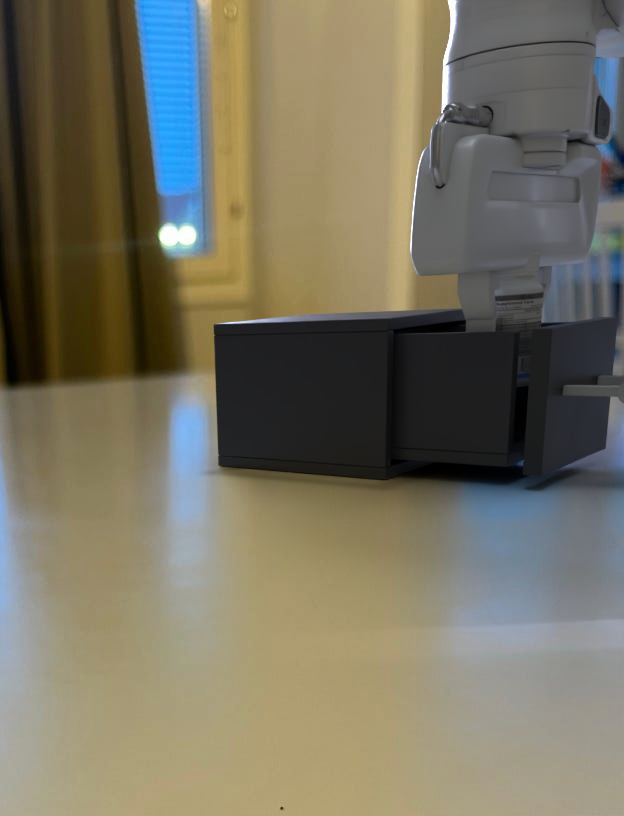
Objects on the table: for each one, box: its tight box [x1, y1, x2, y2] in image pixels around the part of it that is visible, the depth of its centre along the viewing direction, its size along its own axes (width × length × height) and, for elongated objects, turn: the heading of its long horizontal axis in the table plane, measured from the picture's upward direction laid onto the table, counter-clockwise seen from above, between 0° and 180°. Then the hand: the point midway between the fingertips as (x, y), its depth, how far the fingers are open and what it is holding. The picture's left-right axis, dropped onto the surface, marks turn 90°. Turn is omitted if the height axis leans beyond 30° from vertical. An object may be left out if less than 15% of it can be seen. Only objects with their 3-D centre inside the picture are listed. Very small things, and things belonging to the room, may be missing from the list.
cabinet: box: [213, 307, 466, 481], centre depth 75 cm, size 15×13×11 cm
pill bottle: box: [494, 251, 544, 387], centre depth 66 cm, size 5×5×8 cm
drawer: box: [391, 316, 624, 477], centre depth 67 cm, size 18×11×9 cm, turn 48°
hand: (503, 343), depth 66 cm, fingers closed on pill bottle, 5 cm apart
